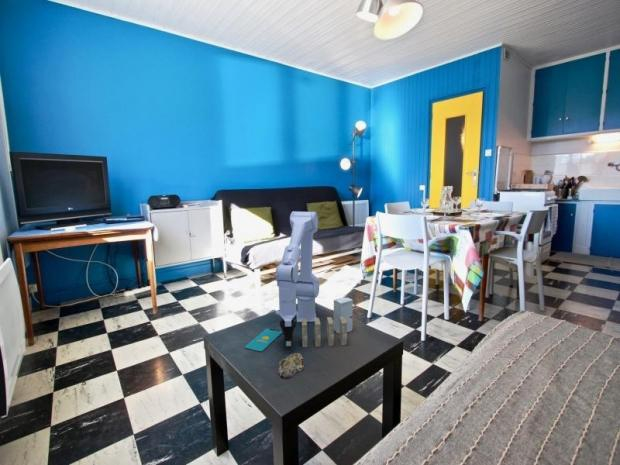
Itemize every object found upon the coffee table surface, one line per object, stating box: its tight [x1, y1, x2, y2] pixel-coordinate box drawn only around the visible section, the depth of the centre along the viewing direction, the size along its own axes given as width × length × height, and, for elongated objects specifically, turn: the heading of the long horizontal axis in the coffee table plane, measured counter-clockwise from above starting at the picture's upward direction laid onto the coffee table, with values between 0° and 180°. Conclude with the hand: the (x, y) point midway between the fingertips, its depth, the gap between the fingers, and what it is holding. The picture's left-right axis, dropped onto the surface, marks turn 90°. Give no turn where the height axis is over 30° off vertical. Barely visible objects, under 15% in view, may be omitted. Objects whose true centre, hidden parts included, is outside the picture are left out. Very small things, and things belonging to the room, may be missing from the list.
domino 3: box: [313, 317, 322, 347], centre depth 106 cm, size 2×5×8 cm, turn 4°
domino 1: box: [285, 341, 292, 347], centre depth 105 cm, size 2×5×8 cm, turn 4°
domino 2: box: [301, 318, 308, 348], centre depth 105 cm, size 2×5×8 cm, turn 4°
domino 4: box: [326, 316, 335, 347], centre depth 106 cm, size 2×5×8 cm, turn 4°
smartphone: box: [244, 328, 284, 353], centre depth 109 cm, size 7×1×15 cm
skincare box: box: [333, 296, 354, 335], centre depth 114 cm, size 6×4×12 cm
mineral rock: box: [277, 352, 305, 380], centre depth 92 cm, size 11×4×8 cm
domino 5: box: [339, 317, 348, 346], centre depth 106 cm, size 2×5×8 cm, turn 4°
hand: (288, 336), depth 105 cm, fingers closed on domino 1, 5 cm apart
